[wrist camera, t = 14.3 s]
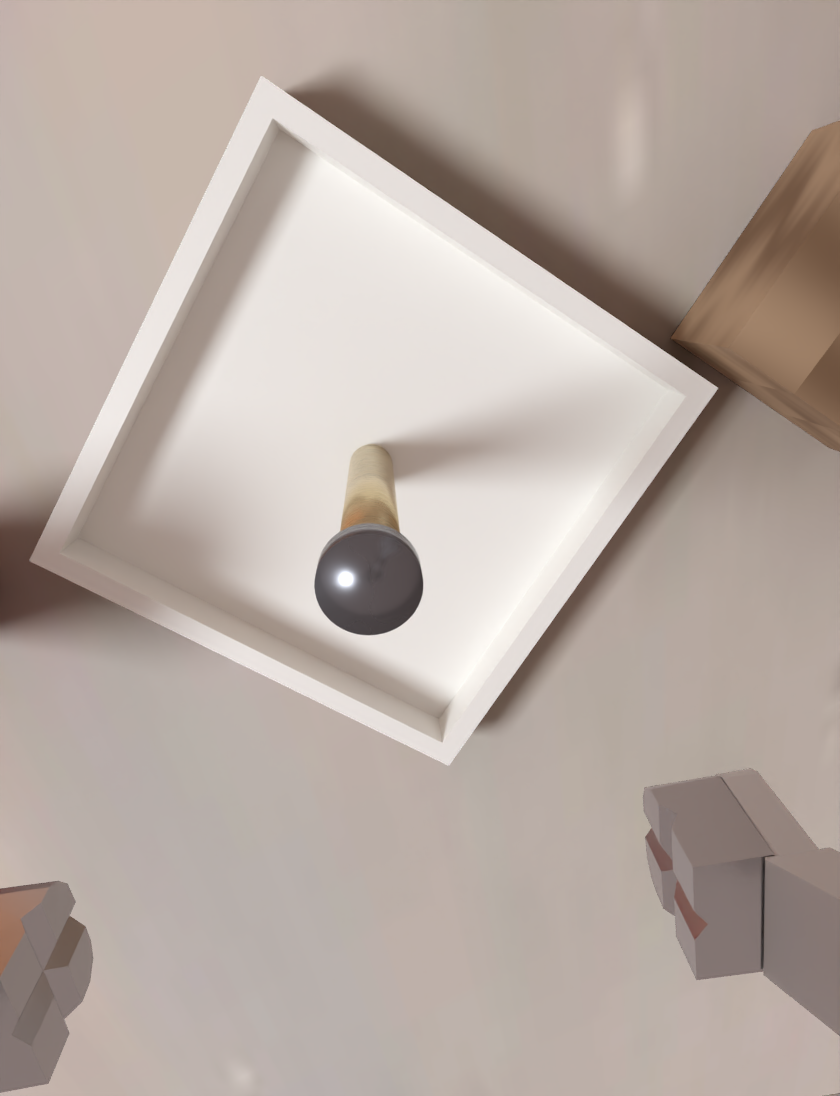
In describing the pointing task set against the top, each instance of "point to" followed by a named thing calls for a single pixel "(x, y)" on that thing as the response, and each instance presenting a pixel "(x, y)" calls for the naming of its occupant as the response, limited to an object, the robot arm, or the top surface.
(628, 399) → the off-white tray
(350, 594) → the brass pin
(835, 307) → the walnut block
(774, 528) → the top surface
